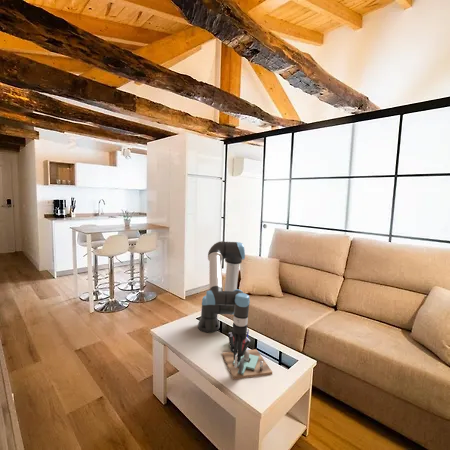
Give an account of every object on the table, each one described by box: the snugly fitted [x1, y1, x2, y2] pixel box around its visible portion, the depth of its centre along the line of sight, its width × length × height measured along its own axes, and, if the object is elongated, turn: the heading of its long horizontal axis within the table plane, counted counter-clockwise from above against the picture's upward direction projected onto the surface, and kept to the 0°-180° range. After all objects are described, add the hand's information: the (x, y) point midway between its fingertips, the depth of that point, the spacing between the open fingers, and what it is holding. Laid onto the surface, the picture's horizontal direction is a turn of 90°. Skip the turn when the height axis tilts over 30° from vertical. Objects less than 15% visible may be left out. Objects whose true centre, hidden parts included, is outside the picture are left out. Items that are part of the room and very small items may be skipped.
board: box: [221, 348, 273, 380], centre depth 146 cm, size 22×22×7 cm
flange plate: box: [233, 354, 259, 375], centre depth 142 cm, size 20×12×7 cm, turn 161°
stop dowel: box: [260, 361, 263, 371], centre depth 139 cm, size 2×2×5 cm
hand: (236, 366), depth 137 cm, fingers closed
